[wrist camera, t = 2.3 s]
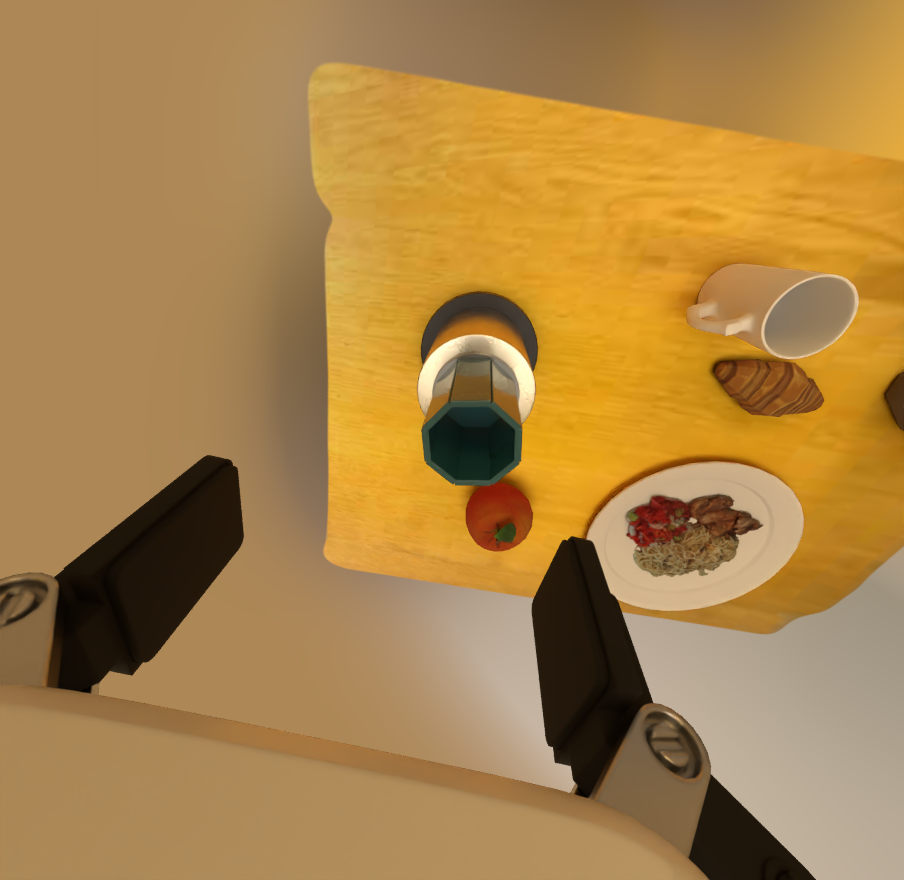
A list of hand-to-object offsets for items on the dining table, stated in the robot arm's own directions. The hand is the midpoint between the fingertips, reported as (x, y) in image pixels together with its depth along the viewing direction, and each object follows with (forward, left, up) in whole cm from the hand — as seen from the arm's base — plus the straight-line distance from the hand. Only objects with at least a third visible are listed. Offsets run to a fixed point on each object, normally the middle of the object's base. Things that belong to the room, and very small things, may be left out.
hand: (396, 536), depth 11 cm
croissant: (-18, +32, -38) cm, 53 cm away
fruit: (+17, +23, -38) cm, 48 cm away
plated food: (+2, +48, -38) cm, 62 cm away
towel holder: (+3, +5, -38) cm, 38 cm away
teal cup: (+3, +5, -24) cm, 25 cm away
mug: (-19, +19, -38) cm, 47 cm away
